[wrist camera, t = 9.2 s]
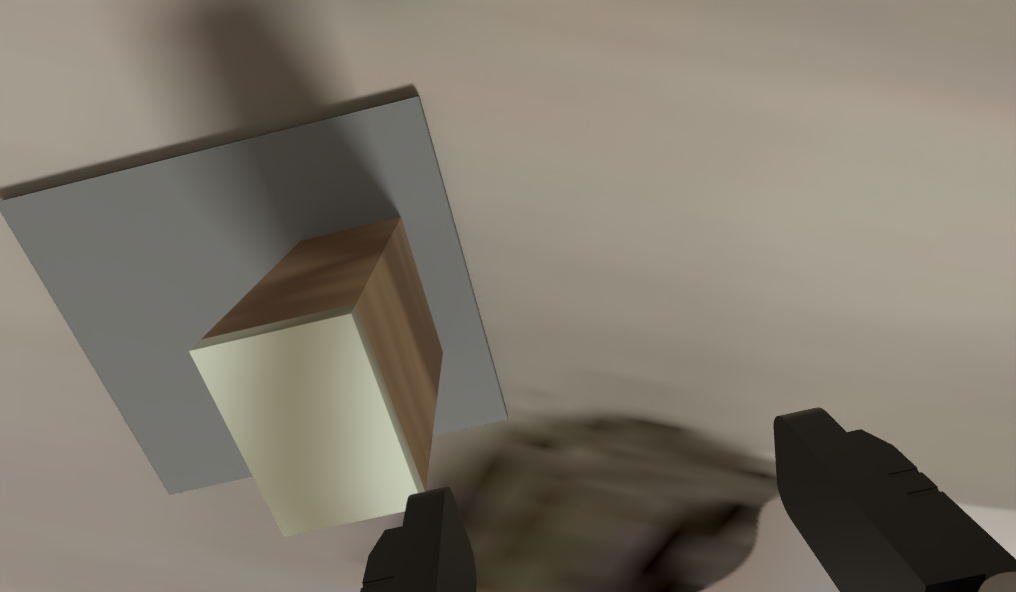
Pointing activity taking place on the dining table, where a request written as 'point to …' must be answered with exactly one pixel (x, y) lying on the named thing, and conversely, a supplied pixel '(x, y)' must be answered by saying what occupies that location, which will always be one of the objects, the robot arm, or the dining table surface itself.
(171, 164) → the mat
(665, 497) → the dining table surface
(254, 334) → the block
